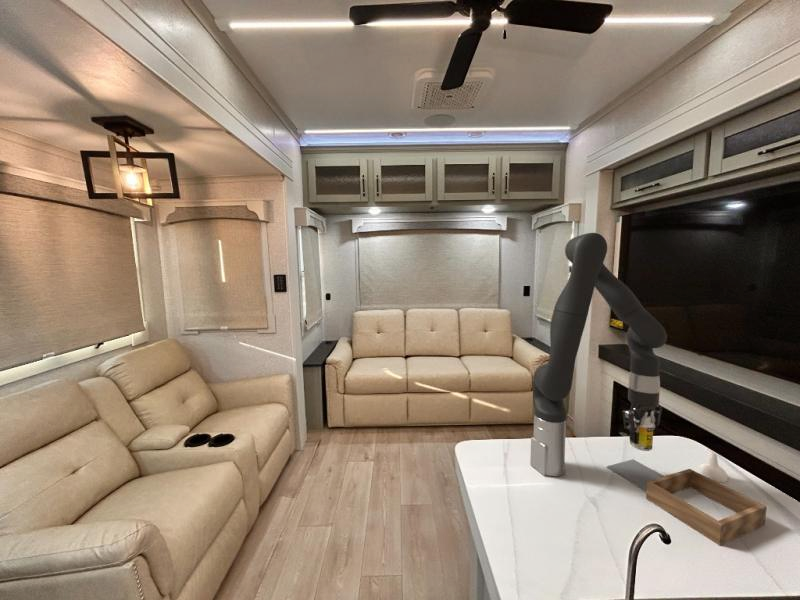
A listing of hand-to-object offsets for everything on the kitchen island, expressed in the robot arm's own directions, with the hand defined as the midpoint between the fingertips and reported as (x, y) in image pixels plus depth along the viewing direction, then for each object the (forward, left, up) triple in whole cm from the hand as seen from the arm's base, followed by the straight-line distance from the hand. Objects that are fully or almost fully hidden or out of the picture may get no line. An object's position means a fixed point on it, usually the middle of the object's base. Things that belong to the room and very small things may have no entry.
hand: (641, 440), depth 97 cm
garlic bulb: (+20, -8, -11) cm, 24 cm away
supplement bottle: (0, 0, -2) cm, 2 cm away
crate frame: (0, -16, -11) cm, 19 cm away
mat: (0, 0, -11) cm, 11 cm away
